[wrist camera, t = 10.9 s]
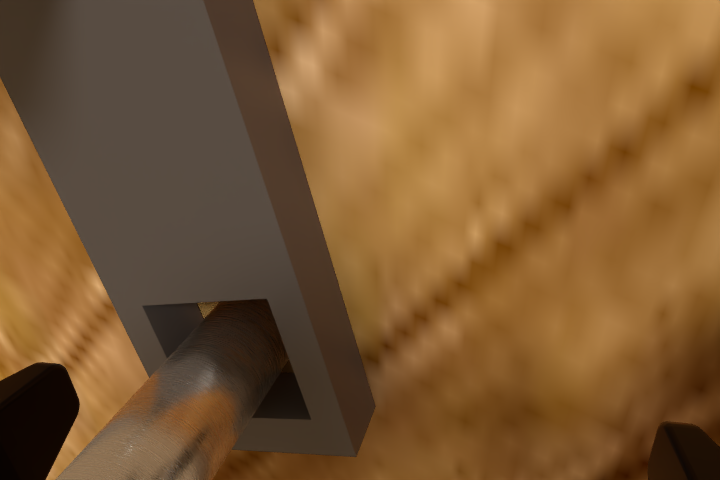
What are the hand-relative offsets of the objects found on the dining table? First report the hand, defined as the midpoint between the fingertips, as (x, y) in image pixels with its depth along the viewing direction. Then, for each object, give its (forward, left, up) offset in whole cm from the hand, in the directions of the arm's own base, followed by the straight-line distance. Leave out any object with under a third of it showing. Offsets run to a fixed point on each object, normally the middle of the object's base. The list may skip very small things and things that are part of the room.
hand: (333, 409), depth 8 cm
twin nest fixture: (+10, +3, -13) cm, 17 cm away
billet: (+6, +11, -13) cm, 18 cm away
